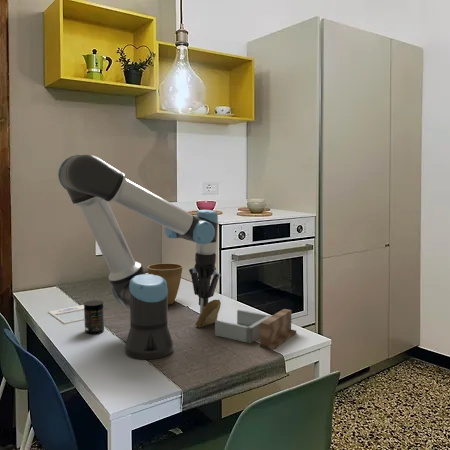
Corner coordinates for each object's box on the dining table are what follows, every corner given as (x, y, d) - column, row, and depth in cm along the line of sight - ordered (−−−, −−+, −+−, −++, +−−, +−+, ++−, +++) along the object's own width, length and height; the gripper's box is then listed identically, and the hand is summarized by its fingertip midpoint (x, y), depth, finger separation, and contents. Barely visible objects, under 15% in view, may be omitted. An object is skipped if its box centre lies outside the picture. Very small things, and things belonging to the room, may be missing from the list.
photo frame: (83, 304, 198) (101, 314, 184) (83, 307, 198) (101, 317, 184) (47, 311, 188) (64, 322, 175) (48, 313, 189) (64, 325, 175)
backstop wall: (273, 349, 151) (274, 325, 150) (259, 346, 154) (260, 322, 153) (296, 333, 166) (296, 311, 165) (283, 330, 169) (283, 308, 168)
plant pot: (189, 302, 203) (189, 266, 201) (161, 309, 193) (161, 271, 191) (168, 295, 214) (168, 261, 212) (141, 302, 204) (140, 265, 202)
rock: (200, 326, 167) (225, 321, 171) (195, 302, 170) (220, 298, 174) (191, 331, 177) (215, 326, 181) (186, 309, 179) (210, 304, 183)
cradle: (250, 343, 156) (250, 328, 156) (215, 335, 164) (215, 321, 163) (272, 329, 170) (272, 315, 170) (238, 322, 178) (238, 309, 177)
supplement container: (108, 331, 168) (107, 302, 166) (92, 336, 162) (91, 306, 161) (96, 327, 172) (96, 299, 171) (80, 331, 167) (79, 303, 165)
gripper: (225, 253, 173) (222, 315, 176) (197, 248, 179) (194, 308, 182) (215, 256, 166) (211, 320, 170) (185, 251, 172) (183, 313, 176)
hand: (202, 314), depth 176 cm, fingers closed
